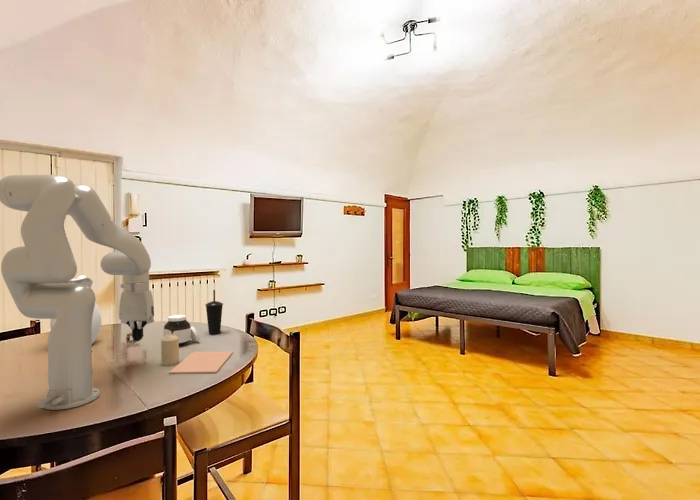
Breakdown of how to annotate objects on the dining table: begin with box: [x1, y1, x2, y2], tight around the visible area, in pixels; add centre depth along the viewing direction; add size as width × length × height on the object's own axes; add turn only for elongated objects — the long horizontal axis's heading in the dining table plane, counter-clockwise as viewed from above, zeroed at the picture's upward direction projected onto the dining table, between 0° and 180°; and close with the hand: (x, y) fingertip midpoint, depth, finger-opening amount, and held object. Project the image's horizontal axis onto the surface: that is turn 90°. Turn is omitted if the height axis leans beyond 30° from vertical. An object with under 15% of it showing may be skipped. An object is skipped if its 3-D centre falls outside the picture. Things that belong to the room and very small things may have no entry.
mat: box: [168, 350, 234, 375], centre depth 135 cm, size 22×15×1 cm
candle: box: [160, 334, 180, 366], centre depth 134 cm, size 6×6×10 cm
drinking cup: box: [205, 289, 224, 336], centre depth 175 cm, size 8×8×20 cm
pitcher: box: [49, 274, 102, 344], centre depth 159 cm, size 24×17×28 cm
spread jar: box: [163, 314, 200, 347], centre depth 159 cm, size 12×11×12 cm
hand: (137, 339), depth 133 cm, fingers closed
